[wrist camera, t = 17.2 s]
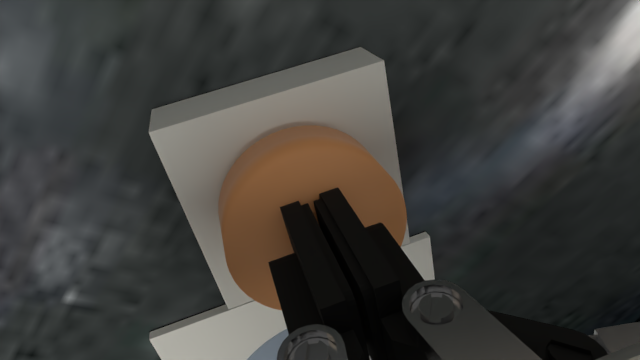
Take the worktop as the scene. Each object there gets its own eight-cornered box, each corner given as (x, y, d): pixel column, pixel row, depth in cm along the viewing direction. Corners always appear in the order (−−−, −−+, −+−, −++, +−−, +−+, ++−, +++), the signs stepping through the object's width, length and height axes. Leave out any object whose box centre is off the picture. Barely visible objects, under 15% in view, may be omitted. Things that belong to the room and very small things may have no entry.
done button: (366, 103, 13) (394, 126, 12) (390, 239, 16) (415, 275, 14) (192, 157, 13) (195, 192, 11) (247, 291, 15) (256, 335, 14)
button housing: (360, 46, 15) (383, 60, 13) (388, 215, 19) (410, 242, 17) (151, 109, 14) (148, 132, 12) (223, 273, 18) (228, 309, 16)
